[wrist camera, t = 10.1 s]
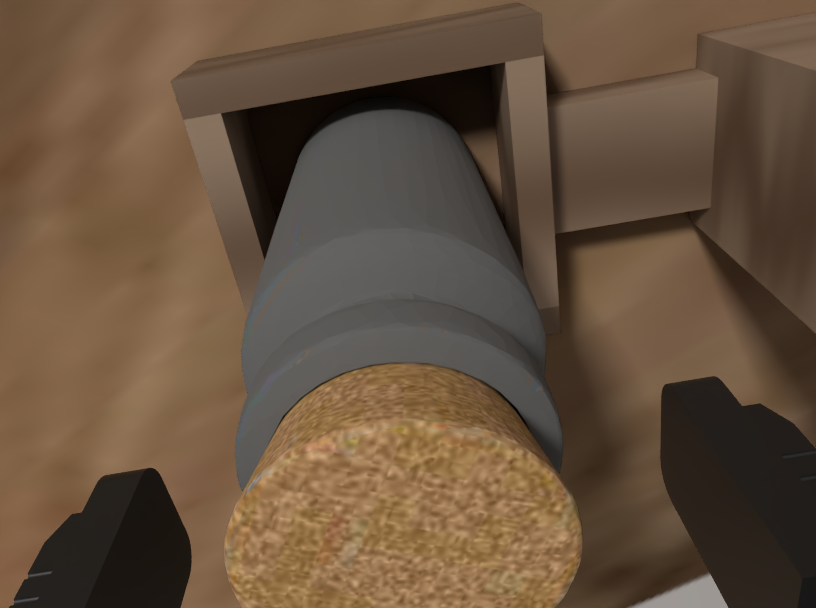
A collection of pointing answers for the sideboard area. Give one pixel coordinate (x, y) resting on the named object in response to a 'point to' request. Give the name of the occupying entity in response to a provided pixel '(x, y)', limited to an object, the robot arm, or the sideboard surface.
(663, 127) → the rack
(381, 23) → the sideboard surface
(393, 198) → the bottle
